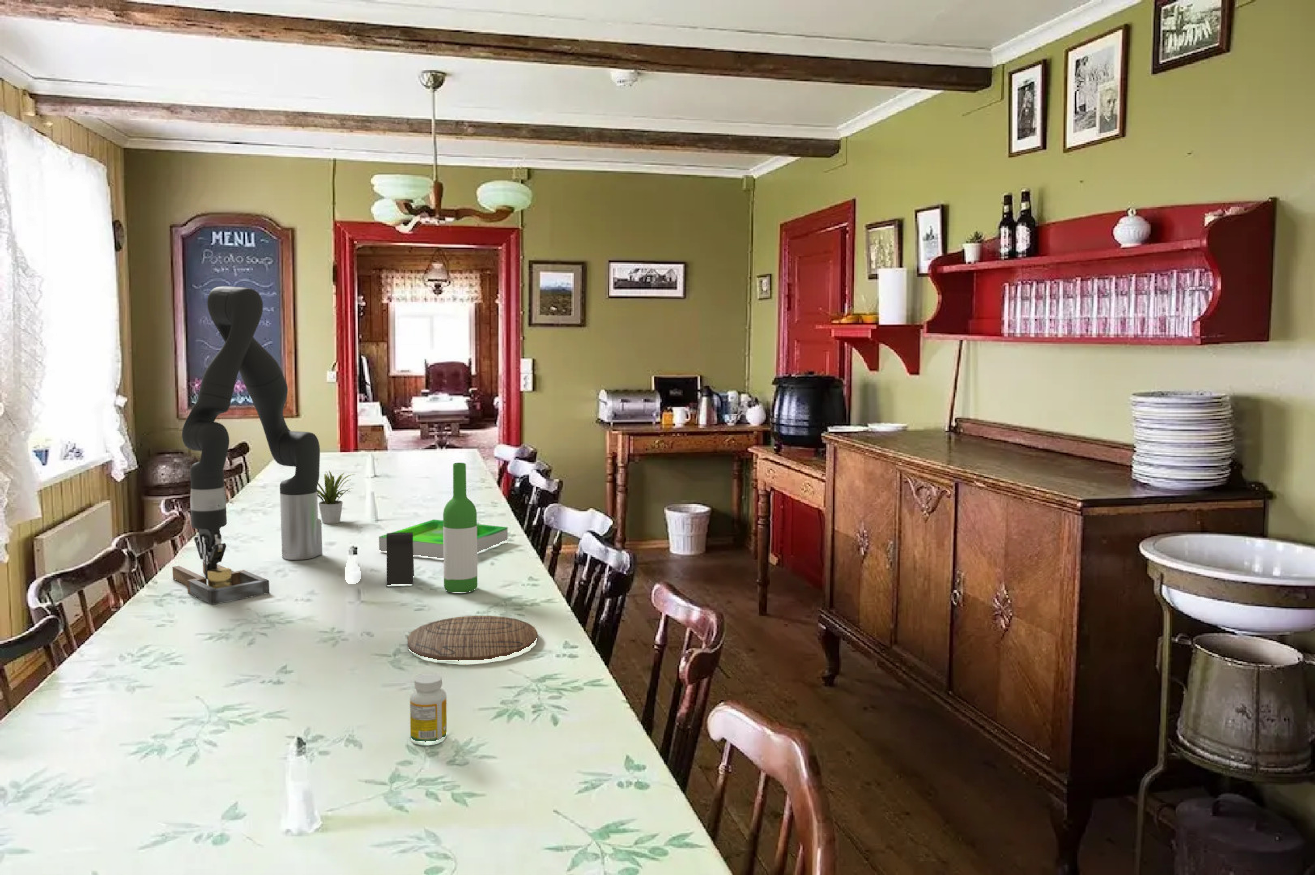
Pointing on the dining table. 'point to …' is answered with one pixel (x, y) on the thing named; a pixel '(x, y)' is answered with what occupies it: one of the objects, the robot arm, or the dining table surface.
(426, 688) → the supplement bottle
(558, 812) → the dining table surface
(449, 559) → the wine bottle
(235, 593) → the chute
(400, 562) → the door stopper
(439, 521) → the tray
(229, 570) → the tan rounded block
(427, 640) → the trivet
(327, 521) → the house plant
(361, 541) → the dining table surface
